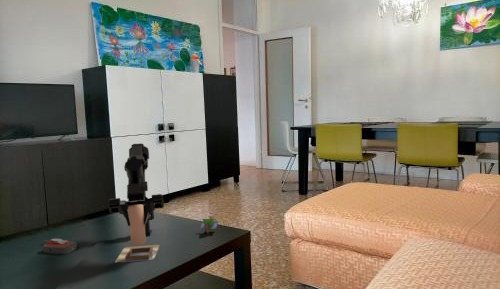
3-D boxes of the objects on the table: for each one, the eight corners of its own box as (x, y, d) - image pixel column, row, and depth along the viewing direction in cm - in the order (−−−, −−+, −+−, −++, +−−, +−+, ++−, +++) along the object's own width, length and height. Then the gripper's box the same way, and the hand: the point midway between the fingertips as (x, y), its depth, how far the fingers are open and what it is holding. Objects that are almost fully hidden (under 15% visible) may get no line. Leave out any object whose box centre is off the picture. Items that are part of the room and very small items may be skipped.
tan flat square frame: (124, 250, 140) (124, 247, 140) (160, 247, 141) (159, 244, 141) (114, 266, 125) (114, 262, 125) (153, 263, 127) (153, 259, 126)
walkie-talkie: (85, 247, 147) (45, 243, 153) (84, 236, 146) (44, 233, 153) (68, 255, 138) (27, 251, 145) (67, 244, 138) (25, 240, 144)
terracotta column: (128, 242, 130) (125, 206, 129) (142, 239, 134) (139, 203, 132) (134, 246, 127) (131, 208, 125) (148, 242, 130) (145, 205, 129)
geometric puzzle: (213, 232, 150) (216, 213, 154) (197, 231, 151) (200, 213, 155) (218, 237, 156) (220, 219, 160) (202, 237, 157) (205, 219, 161)
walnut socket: (130, 252, 134) (130, 248, 134) (152, 250, 135) (152, 246, 135) (125, 261, 126) (125, 257, 126) (149, 259, 127) (148, 255, 127)
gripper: (106, 176, 130) (104, 216, 120) (161, 172, 134) (163, 209, 124) (110, 193, 138) (109, 232, 128) (162, 189, 142) (164, 225, 133)
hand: (136, 224), depth 128 cm, fingers closed on terracotta column, 5 cm apart
